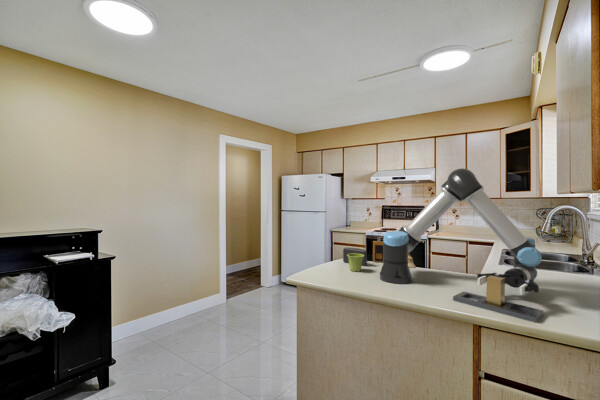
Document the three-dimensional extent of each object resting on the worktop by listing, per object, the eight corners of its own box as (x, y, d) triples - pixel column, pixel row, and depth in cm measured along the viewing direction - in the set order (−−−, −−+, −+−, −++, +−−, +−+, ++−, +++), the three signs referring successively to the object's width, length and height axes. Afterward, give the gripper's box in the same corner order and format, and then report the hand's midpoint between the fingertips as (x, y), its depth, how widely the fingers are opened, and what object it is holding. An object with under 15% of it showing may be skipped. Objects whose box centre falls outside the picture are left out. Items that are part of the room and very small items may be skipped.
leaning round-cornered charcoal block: (369, 265, 174) (369, 249, 174) (365, 266, 171) (365, 250, 171) (346, 261, 185) (346, 246, 185) (342, 262, 182) (342, 247, 182)
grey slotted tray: (453, 300, 115) (453, 296, 115) (463, 295, 121) (463, 291, 121) (535, 322, 94) (535, 317, 94) (543, 315, 101) (543, 310, 101)
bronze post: (486, 306, 108) (486, 277, 108) (490, 304, 111) (491, 275, 111) (500, 310, 105) (500, 280, 105) (504, 307, 107) (504, 278, 107)
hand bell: (409, 264, 178) (409, 238, 178) (418, 267, 171) (419, 240, 171) (398, 265, 176) (398, 238, 176) (407, 268, 168) (407, 240, 168)
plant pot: (367, 270, 161) (367, 255, 161) (357, 273, 155) (357, 257, 155) (353, 267, 168) (353, 252, 168) (343, 270, 162) (343, 254, 161)
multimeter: (389, 259, 191) (389, 229, 191) (390, 263, 181) (391, 231, 181) (366, 258, 194) (366, 228, 194) (366, 261, 184) (367, 230, 184)
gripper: (555, 293, 112) (540, 305, 99) (483, 279, 131) (463, 287, 118) (555, 274, 112) (541, 283, 99) (483, 262, 131) (463, 269, 118)
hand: (498, 286), depth 109 cm, fingers open, 13 cm apart
